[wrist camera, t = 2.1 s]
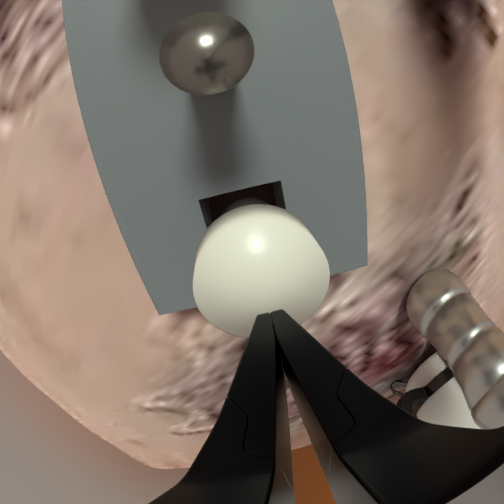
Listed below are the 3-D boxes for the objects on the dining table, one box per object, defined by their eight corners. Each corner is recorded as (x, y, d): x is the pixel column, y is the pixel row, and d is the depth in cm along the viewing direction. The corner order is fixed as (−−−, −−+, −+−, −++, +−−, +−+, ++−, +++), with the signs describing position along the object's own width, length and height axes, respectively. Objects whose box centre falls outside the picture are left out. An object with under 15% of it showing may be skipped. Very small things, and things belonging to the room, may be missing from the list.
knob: (286, 171, 14) (323, 208, 9) (300, 256, 17) (332, 320, 12) (188, 195, 14) (172, 244, 9) (215, 277, 17) (215, 348, 12)
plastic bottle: (451, 288, 26) (553, 420, 8) (405, 323, 27) (493, 474, 10) (443, 248, 23) (578, 395, 5) (391, 287, 24) (508, 468, 7)
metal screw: (235, 38, 11) (243, 4, 6) (248, 92, 12) (263, 83, 8) (174, 53, 11) (151, 26, 6) (187, 107, 12) (170, 106, 8)
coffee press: (479, 297, 28) (593, 462, 1) (463, 361, 35) (536, 491, 9) (368, 361, 29) (456, 581, 3) (376, 411, 37) (432, 562, 11)
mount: (276, -77, 9) (288, -104, 5) (345, 238, 21) (367, 265, 18) (83, -30, 9) (60, -49, 5) (167, 281, 21) (159, 314, 18)
